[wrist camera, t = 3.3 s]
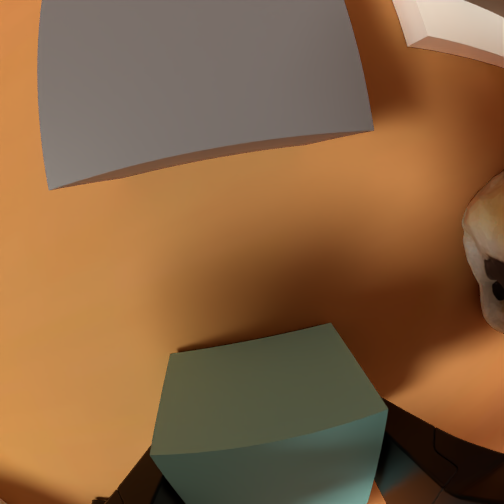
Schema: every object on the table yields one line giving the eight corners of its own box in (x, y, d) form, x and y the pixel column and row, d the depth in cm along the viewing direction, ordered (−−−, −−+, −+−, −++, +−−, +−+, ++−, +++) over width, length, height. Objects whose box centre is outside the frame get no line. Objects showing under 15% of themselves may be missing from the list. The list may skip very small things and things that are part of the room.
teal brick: (334, 425, 11) (367, 503, 7) (210, 449, 10) (212, 533, 6) (330, 322, 9) (388, 409, 5) (170, 353, 9) (149, 454, 5)
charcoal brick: (305, 145, 8) (374, 130, 4) (123, 177, 8) (48, 190, 4) (274, -8, 7) (307, -92, 3) (106, 22, 6) (49, -45, 2)
